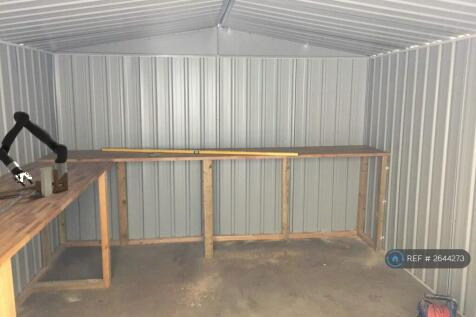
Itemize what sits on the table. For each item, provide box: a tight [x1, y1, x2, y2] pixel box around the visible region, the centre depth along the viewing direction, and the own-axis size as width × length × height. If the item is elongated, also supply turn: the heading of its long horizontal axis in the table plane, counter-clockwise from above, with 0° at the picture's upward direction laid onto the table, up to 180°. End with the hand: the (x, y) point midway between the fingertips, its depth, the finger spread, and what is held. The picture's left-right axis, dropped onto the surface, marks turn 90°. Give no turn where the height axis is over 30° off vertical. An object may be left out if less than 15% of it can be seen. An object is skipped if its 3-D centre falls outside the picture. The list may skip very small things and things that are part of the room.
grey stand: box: [29, 166, 54, 198], centre depth 316 cm, size 11×13×21 cm
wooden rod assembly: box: [52, 168, 69, 193], centre depth 331 cm, size 4×11×18 cm, turn 140°
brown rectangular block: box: [34, 179, 42, 192], centre depth 317 cm, size 4×6×10 cm, turn 78°
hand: (28, 184), depth 319 cm, fingers open, 8 cm apart
